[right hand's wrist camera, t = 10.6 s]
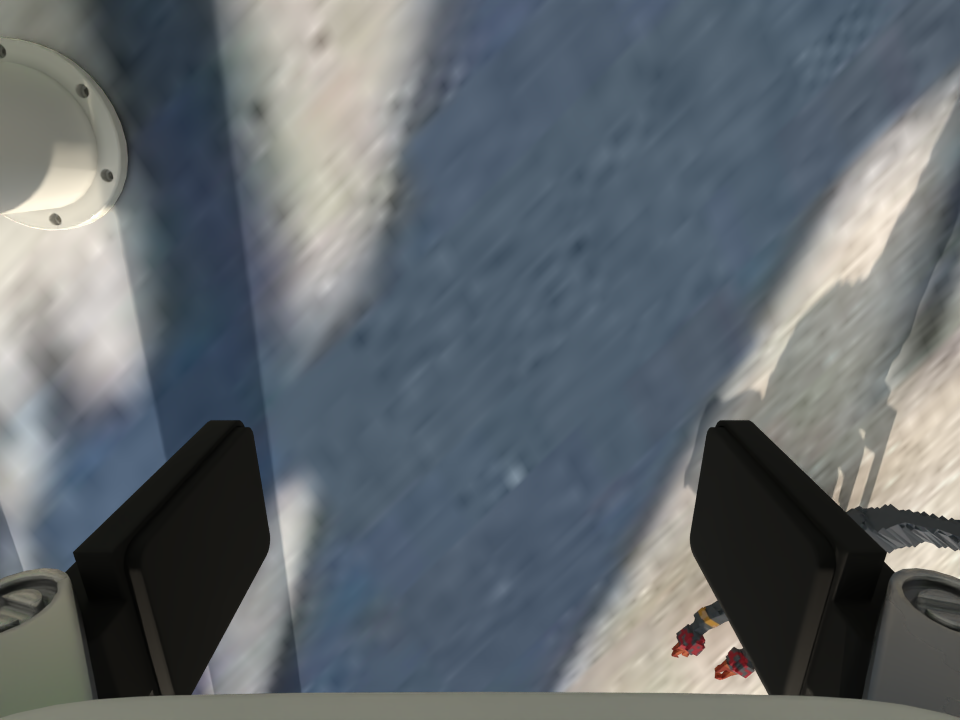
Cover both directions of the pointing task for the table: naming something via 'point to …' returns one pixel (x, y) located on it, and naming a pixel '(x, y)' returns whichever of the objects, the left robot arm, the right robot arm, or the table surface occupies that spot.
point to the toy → (880, 524)
